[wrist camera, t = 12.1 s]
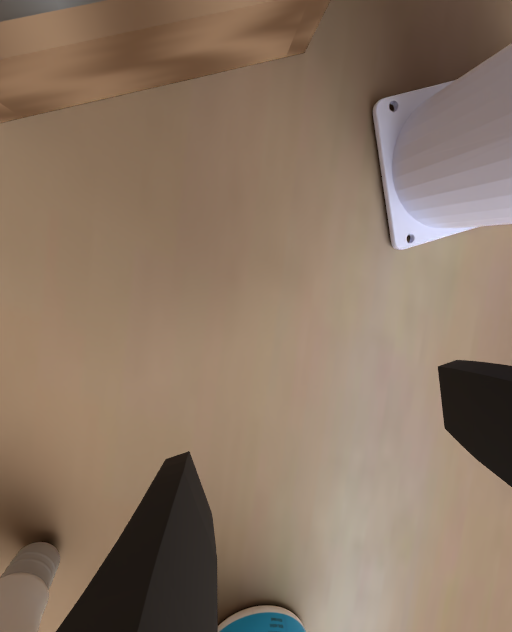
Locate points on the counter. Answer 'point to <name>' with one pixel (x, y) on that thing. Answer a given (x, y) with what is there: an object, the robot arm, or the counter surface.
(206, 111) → the counter surface
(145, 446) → the counter surface
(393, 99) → the robot arm
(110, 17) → the bore box
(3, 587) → the lightbulb
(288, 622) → the beverage bottle
